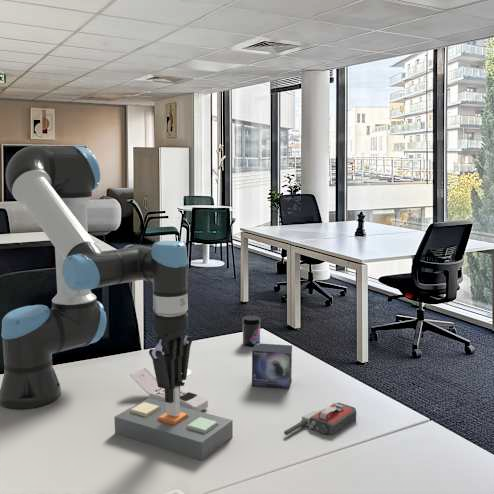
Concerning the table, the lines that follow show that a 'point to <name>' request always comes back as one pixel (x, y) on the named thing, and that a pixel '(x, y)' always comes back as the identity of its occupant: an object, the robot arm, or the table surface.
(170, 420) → the orange button
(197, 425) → the sage button
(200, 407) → the mobile phone
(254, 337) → the supplement container
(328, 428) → the walkie-talkie
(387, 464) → the table surface
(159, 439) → the button console
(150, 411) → the sand button
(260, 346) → the small box
